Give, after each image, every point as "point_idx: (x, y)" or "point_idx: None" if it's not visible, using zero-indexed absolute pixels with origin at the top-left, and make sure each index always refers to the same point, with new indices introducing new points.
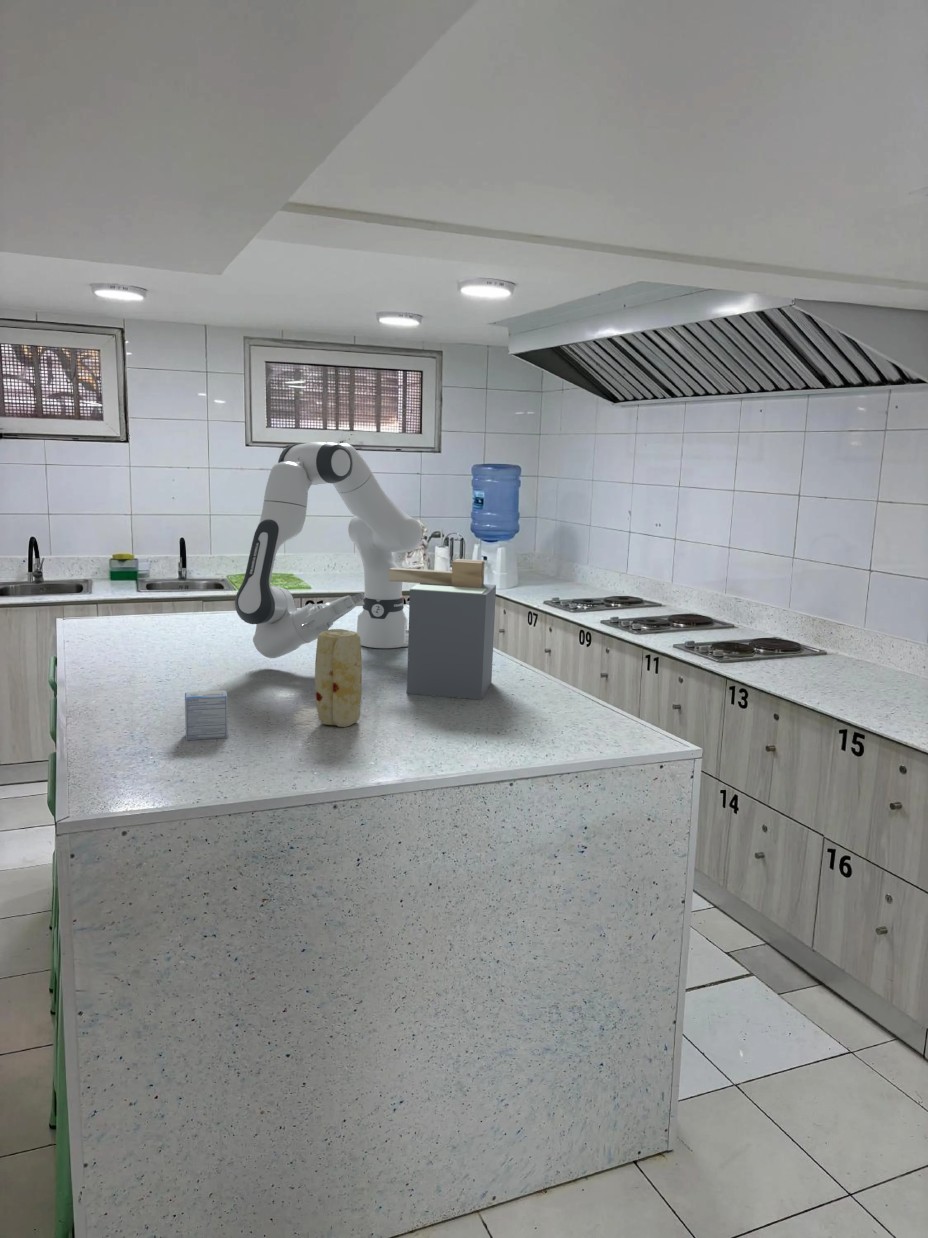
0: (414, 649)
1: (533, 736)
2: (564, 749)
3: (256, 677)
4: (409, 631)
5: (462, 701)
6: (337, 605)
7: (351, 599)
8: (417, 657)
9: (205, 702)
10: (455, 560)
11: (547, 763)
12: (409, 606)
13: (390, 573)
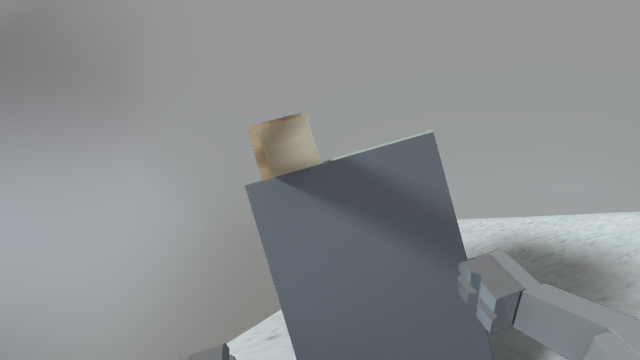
0: None
1: (496, 242)
2: (501, 227)
3: None
4: (459, 238)
5: None
6: (626, 324)
7: (483, 257)
8: None
9: None
10: (278, 119)
11: (546, 217)
12: (444, 175)
13: (310, 133)
